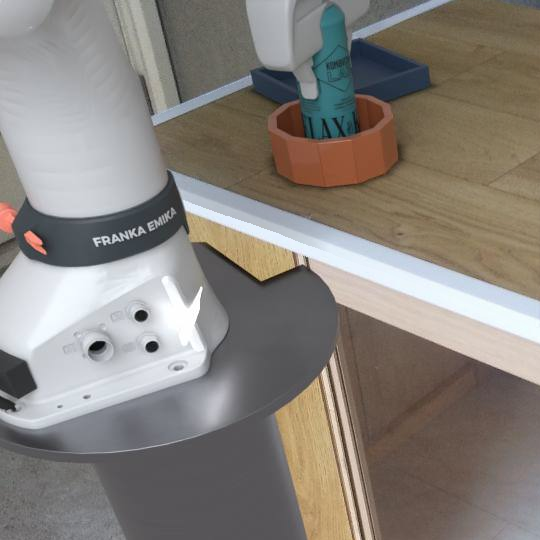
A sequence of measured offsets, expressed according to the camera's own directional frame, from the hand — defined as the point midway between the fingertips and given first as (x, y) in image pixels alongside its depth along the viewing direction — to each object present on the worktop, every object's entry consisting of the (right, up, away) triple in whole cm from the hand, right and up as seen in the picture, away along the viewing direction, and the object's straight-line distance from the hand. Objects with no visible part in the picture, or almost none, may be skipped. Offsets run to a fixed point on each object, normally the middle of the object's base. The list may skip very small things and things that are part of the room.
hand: (328, 83), depth 110 cm
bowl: (0, -6, +6) cm, 9 cm away
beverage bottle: (0, -6, +6) cm, 9 cm away
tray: (-3, +9, +21) cm, 23 cm away
